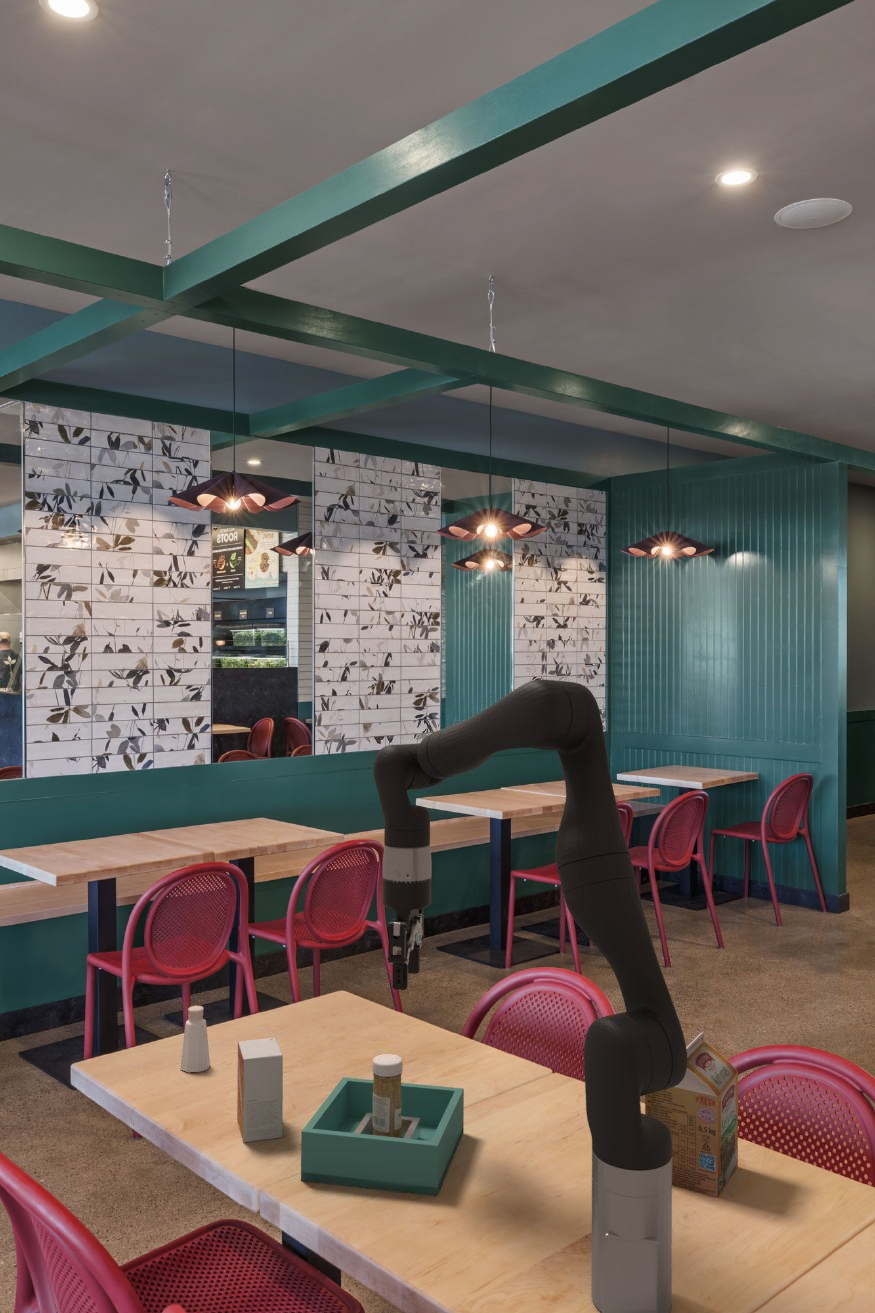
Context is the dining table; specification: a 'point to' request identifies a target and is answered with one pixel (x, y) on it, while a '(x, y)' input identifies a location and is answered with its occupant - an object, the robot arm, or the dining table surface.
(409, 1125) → the socket collar
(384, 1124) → the sprinkles bottle
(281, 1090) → the small box
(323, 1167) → the walled box
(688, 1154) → the milk carton
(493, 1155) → the dining table surface
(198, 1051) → the salt shaker
